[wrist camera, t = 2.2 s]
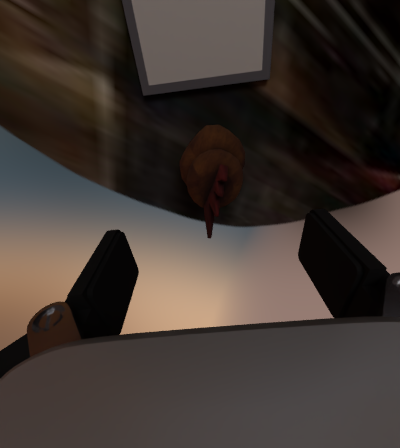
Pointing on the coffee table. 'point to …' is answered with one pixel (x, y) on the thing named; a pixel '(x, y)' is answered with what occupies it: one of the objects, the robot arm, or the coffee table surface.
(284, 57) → the coffee table surface
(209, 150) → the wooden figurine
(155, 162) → the coffee table surface
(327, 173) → the coffee table surface
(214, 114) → the coffee table surface
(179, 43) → the card
